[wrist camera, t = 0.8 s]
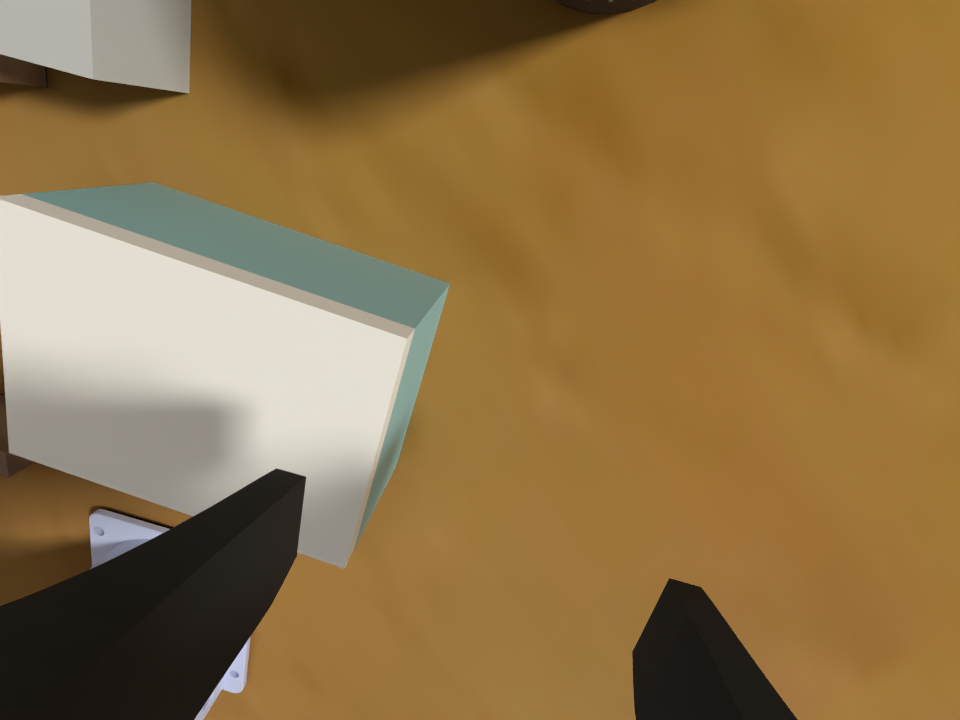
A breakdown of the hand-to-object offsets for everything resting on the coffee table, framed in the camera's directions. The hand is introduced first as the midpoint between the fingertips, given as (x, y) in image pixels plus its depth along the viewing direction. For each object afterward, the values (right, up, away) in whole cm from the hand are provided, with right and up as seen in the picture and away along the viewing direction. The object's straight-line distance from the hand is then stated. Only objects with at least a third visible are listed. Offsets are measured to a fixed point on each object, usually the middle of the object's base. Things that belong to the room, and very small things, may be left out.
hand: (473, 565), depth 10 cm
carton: (-7, +5, +10) cm, 13 cm away
